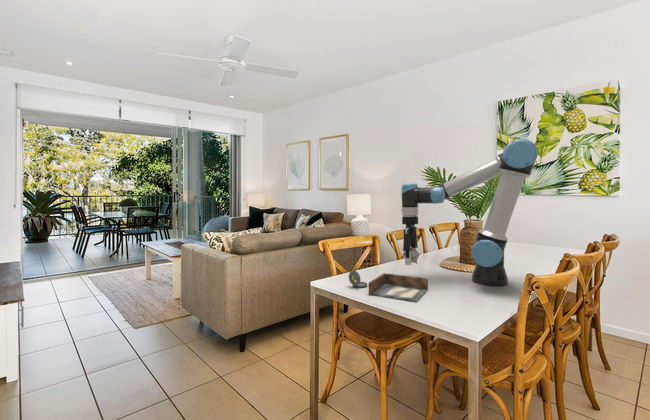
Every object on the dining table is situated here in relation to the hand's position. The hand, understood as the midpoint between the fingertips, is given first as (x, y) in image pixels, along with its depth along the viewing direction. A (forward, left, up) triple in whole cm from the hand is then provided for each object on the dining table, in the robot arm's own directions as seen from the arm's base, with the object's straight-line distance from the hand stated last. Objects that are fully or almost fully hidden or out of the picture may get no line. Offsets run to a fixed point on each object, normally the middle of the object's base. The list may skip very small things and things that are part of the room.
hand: (410, 262), depth 163 cm
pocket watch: (+18, +23, -8) cm, 30 cm away
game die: (0, 0, 0) cm, 1 cm away
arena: (-1, +23, -8) cm, 24 cm away
